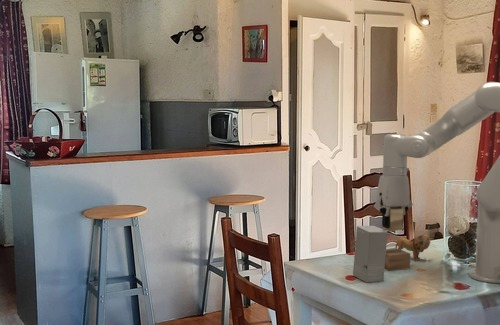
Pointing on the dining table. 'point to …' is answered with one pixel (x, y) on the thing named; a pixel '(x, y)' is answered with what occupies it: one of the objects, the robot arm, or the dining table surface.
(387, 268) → the walnut block
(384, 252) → the skincare box
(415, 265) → the dining table surface
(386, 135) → the robot arm
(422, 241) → the lion figurine
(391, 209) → the oak block
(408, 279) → the dining table surface
